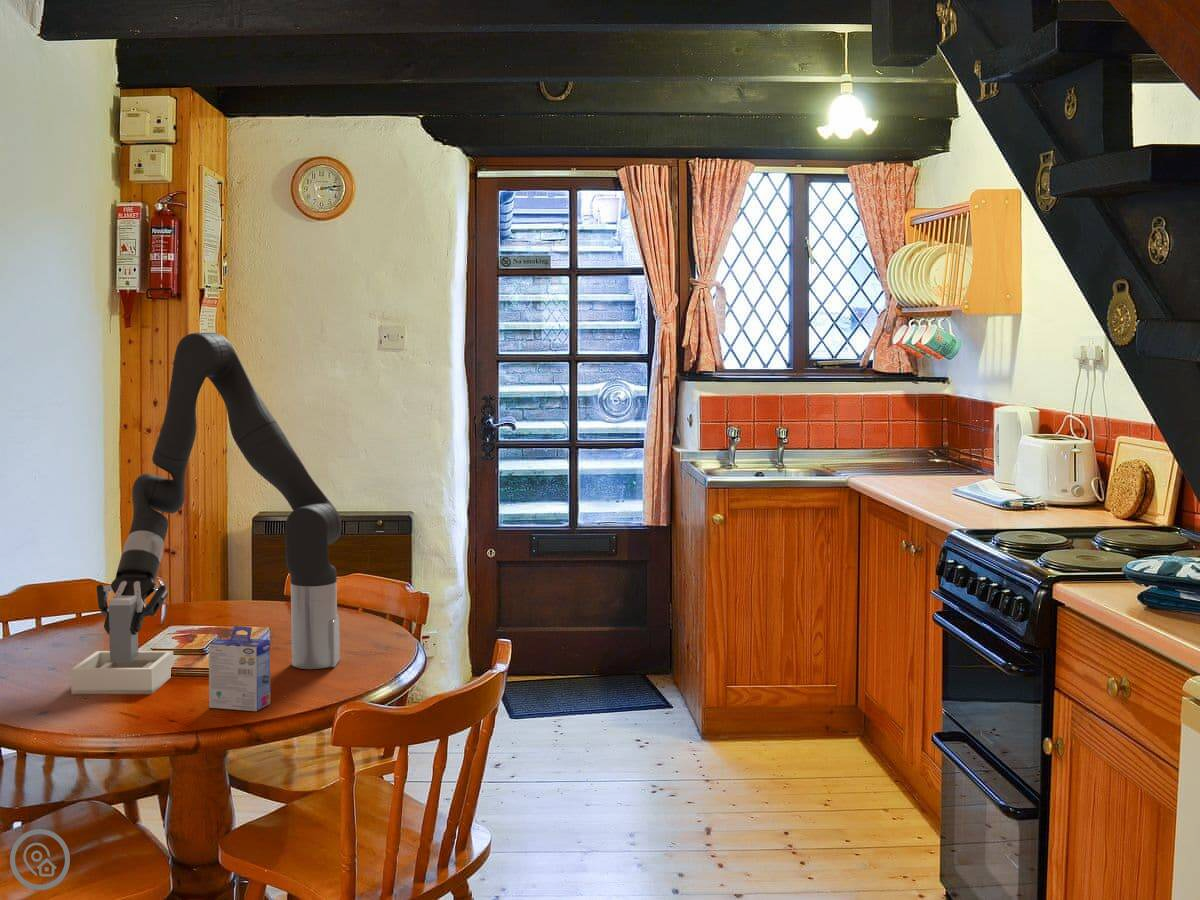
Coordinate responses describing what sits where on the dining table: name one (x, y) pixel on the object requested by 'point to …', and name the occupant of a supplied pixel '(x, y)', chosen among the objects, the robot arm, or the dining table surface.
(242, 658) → the ink cartridge box
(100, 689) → the caddy
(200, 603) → the dining table surface
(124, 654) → the plug
